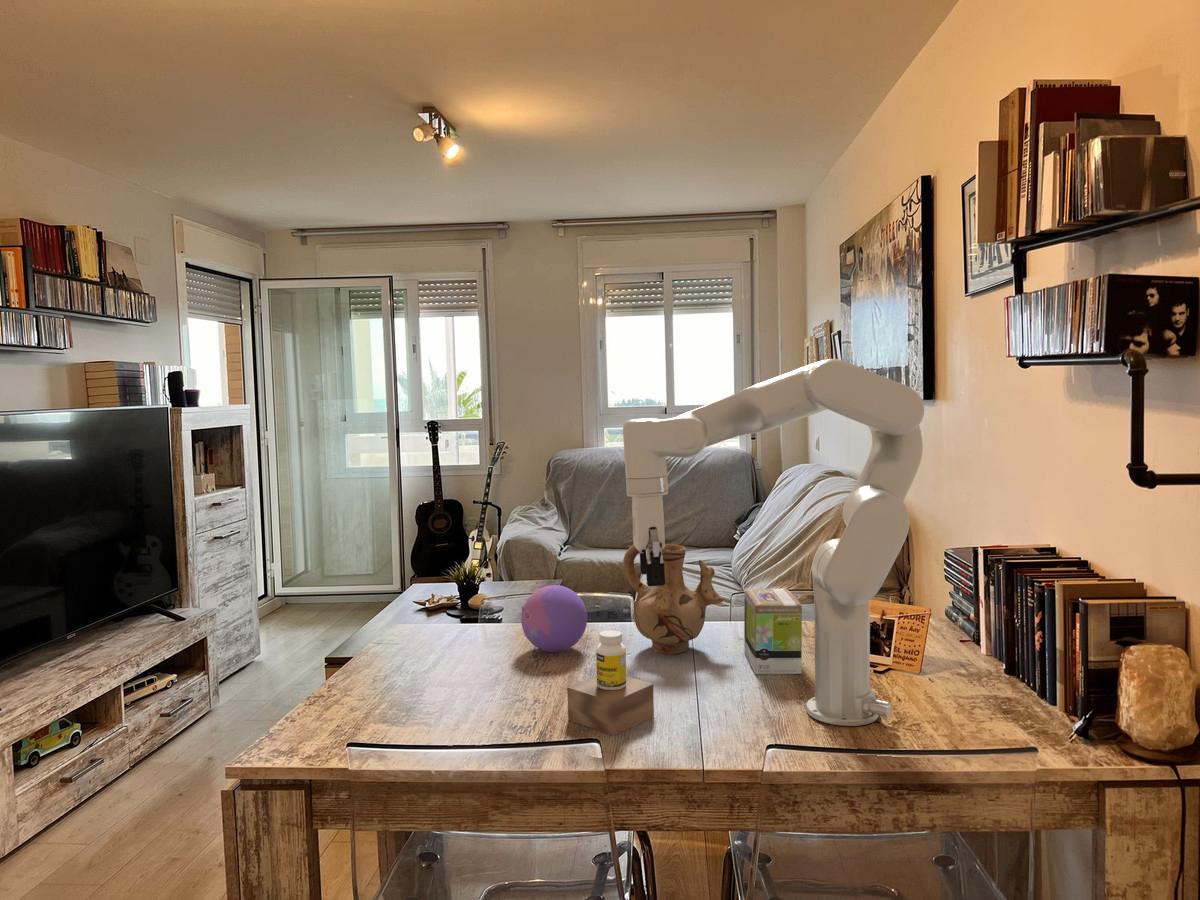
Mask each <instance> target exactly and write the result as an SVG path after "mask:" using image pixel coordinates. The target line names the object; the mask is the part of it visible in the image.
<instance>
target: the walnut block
mask: <svg viewBox="0 0 1200 900" xmlns="http://www.w3.org/2000/svg"><path fill="white" fill-rule="evenodd" d="M566 690H567V692H566V693H567V720H568V719H570V720H572V721H571V722H573V721H575V722H574V723H576V722H577V723H576V724H579V723H580V725H582V726H584V725H585V727H587V728H590V729H593V730H597V731H599V732H602V733H604V734H607V735H610V736H616V735H618V734H621V733H623V732H625V731H626V730H629V729H631V728H633V727H635V726H636V725H639V724H641V723H644V722H645V721H647V720H649V719H651V718H654V717H655V714H654V713H655V712H654V711H655V709H654V708H655V707H654V701H655V699H654V683H651V682H647V681H644V680H641V679H637V678H635V677H634V678H633V677H630V676H627V675H626V686H625V687H624V688H622V689H619V690H604V689H601V688H599V687H598V686H597V675H595V676H592V677H590V678H588V679H586V680H585V679H584V680H583V681H580V682H578V683H575V684H573V685H569V686H567V687H566ZM570 720H569V721H570Z"/></svg>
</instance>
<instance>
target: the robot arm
mask: <svg viewBox="0 0 1200 900" xmlns="http://www.w3.org/2000/svg"><path fill="white" fill-rule="evenodd" d="M923 401H924V400H923V399H922V397H921V395H920V394H919V393H918V392H917V391H916V390H915V389H913V387H910V386H908V385H906V384H903V383H902V382H898V381H895V380H893V379H890V378H888V377H885V376H883V375H880V374H877V373H875V372H872V371H869V370H867V369H864V368H862V367H861V366H857V365H855V364H852V363H850V362H847V361H845V360H843V359H838V358H827V359H822V360H819V361H816V362H813V363H810V364H807V365H805V366H801V367H799V368H797V369H794V370H791V371H789V372H786V373H783V374H781V375H778V376H775V377H772V378H770V379H767V380H765V381H762V382H758V383H756V384H753V385H752V386H749V387H746V388H744V389H742V390H740V391H738V392H737V393H735V394H732V395H730V396H727V397H724V398H721V399H720V400H716V401H714V402H711V403H708V404H706V405H703V406H701V407H698V408H695V409H692V410H689V411H687V412H684V413H681V414H679V415H677V416H675V417H671V418H664V419H660V418H655V417H654V418H653V417H650V418H649V417H648V418H635V419H629V420H628V419H627V421H625V422H624V424H623V426H622V437H623V453H624V455H623V456H624V465H625V466H624V468H625V471H624V472H625V483H626V484H625V485H626V496H627V497H631V498H632V500H631V509H632V510H631V511H632V540H633V541H632V542H633V544H634V545H635V547H636V549H637V550H638V551H639V552H640V553H639V565H640V567H639V568H640V574H641V575H646V586H662V585H665V571H664V562H663V555H662V550H663V549H664V548H665V544H666V541H665V539H666V538H665V535H666V534H665V518H664V502H663V496H665V495H668V494H669V484H668V483H669V482H668V468H667V458H668V457H669V458H670V457H672V458H681V459H682V458H683V459H686V458H687V459H689V458H695V456H698V455H699V454H701V453H702V452H703V451H704V449H705V448H708V447H711V446H714V445H716V444H719V443H721V442H724V441H726V440H731V439H733V438H737V437H740V436H744V435H745V436H746V435H749V434H761V433H765V432H768V431H772V430H774V429H777V428H779V427H782V426H785V425H787V424H790V423H791V424H792V423H793V422H797V421H798V420H801V419H804V418H807V417H810V416H812V415H815V414H818V413H820V412H824V411H826V410H829V411H831V412H833V413H836V414H838V415H839V416H840V415H841V416H842V417H845V418H847V419H850V420H852V421H854V422H858V423H860V424H863V425H864V426H868V428H869V430H870V434H871V440H872V441H871V449H870V452H869V454H868V456H867V459H866V461H865V464H864V466H863V468H862V470H861V472H860V474H859V475H858V477H857V480H856V481H855V484H854V485H853V488H852V490H851V491H850V493H849V494H848V496H847V498H846V500H845V502H844V503H843V508H842V519H843V520H842V521H843V522H844V524H845V528H844V529H843V532H842V534H841V536H840V538H839V537H838V538H833V539H829V540H827V541H825V542H824V543H823V544H821V545H820V546H819V547H818V549H817V550H816V552H815V554H814V556H813V558H812V559H813V560H812V564H811V565H812V568H811V569H812V571H811V572H812V573H811V577H812V588H813V589H812V590H813V599H814V601H813V602H814V603H813V604H814V697H811V698H810V699H808V701H806V704H805V706H806V708H805V710H806V713H807V714H808V715H809V716H810V717H811V718H813V719H815V720H817V721H819V722H822V723H826V724H829V725H833V726H843V727H856V726H857V727H858V726H859V727H860V726H864V725H868V724H869V725H870V724H872V723H873V722H875V721H877V720H878V718H879V716H880V717H884V718H887V719H888V718H890V717H891V714H892V707H891V703H890V702H889V701H885V700H879V699H878V698H877V697H876V690H875V689H871V686H870V684H871V683H870V682H871V678H870V677H871V673H870V672H871V670H870V669H871V668H870V667H871V665H870V664H871V661H870V659H871V658H870V656H871V655H870V654H871V651H870V650H871V649H870V648H871V645H870V644H871V643H870V642H871V640H870V639H871V636H870V634H871V633H870V632H871V616H870V615H871V614H870V613H871V611H870V600H872V599H873V598H875V596H876V594H878V592H879V590H880V589H881V587H882V586H883V584H884V582H885V580H886V578H887V577H888V575H889V573H890V571H891V569H892V567H893V565H894V563H895V561H896V559H897V558H898V555H899V554H900V552H901V550H902V547H903V545H904V544H905V541H906V539H907V536H908V534H909V531H910V525H911V524H910V523H911V518H910V513H909V509H908V508H907V506H906V503H904V502H905V499H906V497H907V495H908V492H909V491H910V488H911V486H912V483H913V481H914V479H915V478H916V474H917V472H918V471H919V467H920V465H921V461H922V457H923V450H924V449H923V447H924V446H923V437H922V436H923V435H922V430H921V427H920V424H921V422H922V421H923V419H924V415H925V405H924V402H923Z"/></svg>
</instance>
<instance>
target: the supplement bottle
mask: <svg viewBox="0 0 1200 900" xmlns="http://www.w3.org/2000/svg"><path fill="white" fill-rule="evenodd" d="M622 640H623V634H622V632H621V631H618V630H615V629H614V630H611V629H608V630H603V631H600V633H599V642H600V643H599V644H598V645H597V646H596V649H595V651H596V653H595V655H596V659H595V661H596V665H595V667H596V669H595V670H596V676H597V686H598V687H599V688H601V689H604V690H619V689H622V688H624V687H625V686H626V676H627V650H626V649H627V648H626V646H625V645H624V644H623V643H622Z"/></svg>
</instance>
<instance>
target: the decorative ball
mask: <svg viewBox="0 0 1200 900" xmlns="http://www.w3.org/2000/svg"><path fill="white" fill-rule="evenodd" d="M520 617H521V619H520V620H521V627H522V631H523V635H524V637H525V638H526V639H527V640H528V641H529V642H530V643H531V644H532V645H533V646H534V647H535V648H537V649H538V650H542V651H543V652H547V653H560V652H564V651H566V650H569V649H570V648H573V646H575V645H576V644H577V643H578V642H579V641H580V640H581V639H582V637H583V635H584V633H585V631H586V628H587V625H588V624H587V623H588V612H587V609H586V605H585V603H584V601H583V600H582V598H581V596H579V594H577V593H576V592H575V591H573V590H572V589H570V588H568V587H566V586H562V585H558V584H552V585H551V584H550V585H546V586H543V587H540V588H538V589H537V590H535V591H534V592H533V593H531V595H529V596H528V598H527V599H526V601H525V603H524V605H523V606H521V616H520Z"/></svg>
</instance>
